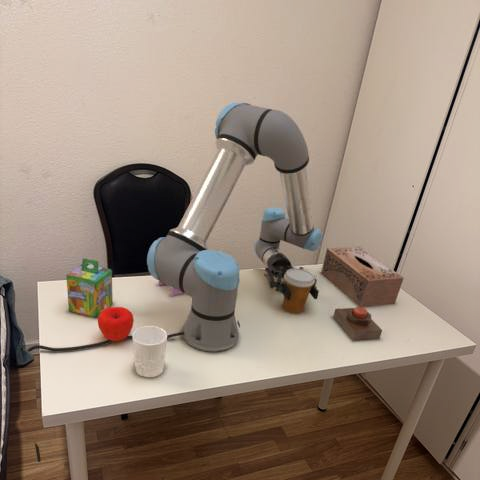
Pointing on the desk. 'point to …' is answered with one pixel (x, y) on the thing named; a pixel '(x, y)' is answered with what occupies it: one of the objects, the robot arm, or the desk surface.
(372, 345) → the desk surface
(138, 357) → the white cup
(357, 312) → the button
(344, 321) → the console
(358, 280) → the tissue box cover
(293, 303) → the disposable coffee cup
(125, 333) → the apple
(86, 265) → the chalk box
